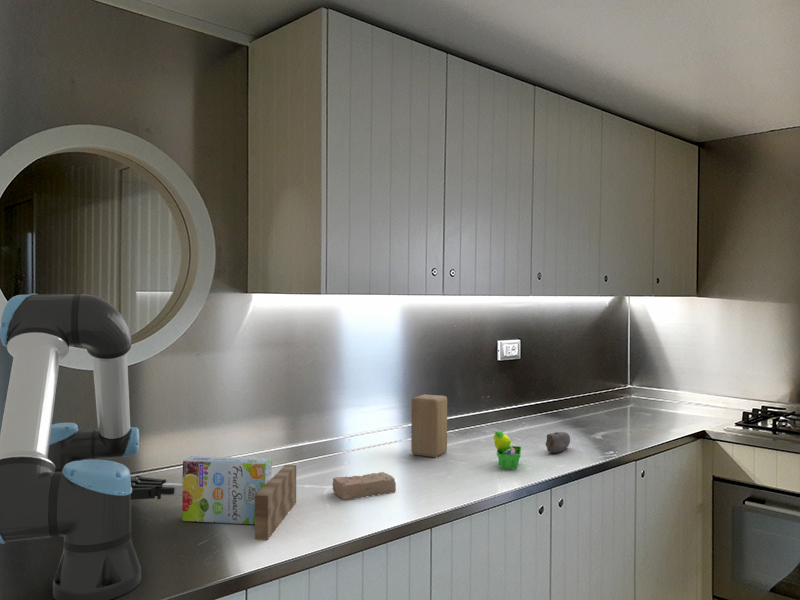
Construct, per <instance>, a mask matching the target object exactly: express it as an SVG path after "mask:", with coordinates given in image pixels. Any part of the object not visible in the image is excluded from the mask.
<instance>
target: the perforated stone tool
mask: <svg viewBox="0 0 800 600" xmlns="http://www.w3.org/2000/svg"><path fill="white" fill-rule="evenodd" d="M570 443H571V436H570V434H569V433H568V432H565V431H556V432H551V433H548V434H546V441H545V447H546V450H547V452H548V453H551V454H552V453H553V454H557V453H561V452H563V451H565V450H566V449H567V448H568V447H569V446H570Z"/></svg>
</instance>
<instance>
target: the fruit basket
mask: <svg viewBox="0 0 800 600" xmlns="http://www.w3.org/2000/svg"><path fill="white" fill-rule="evenodd" d="M493 438H494V439H493V440H494V447H495V448H496V456H497V459H498V463H499V467H500V469H501V468H505V470H518V466H519V461H520V458H521V456H522V447H521V446H518V445H515V446H514V445H511V443H512V440H511V438H510V437H509V436H508V435H507V434H505V433H504V432H503V431H502V430H495V432H494V435H493Z"/></svg>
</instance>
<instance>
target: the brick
mask: <svg viewBox="0 0 800 600" xmlns="http://www.w3.org/2000/svg"><path fill="white" fill-rule="evenodd" d="M332 481H333V482H332V491H333V493H334V494H335V495H336V496H338V497H339V498H341V499H342V500H344V501H345V500H348V501H349V500H355V498H359V499H362V498H361V497H364V498H367V497H366V496H370V497H373V496H372V495H375V496H379V495H378V494H381V495H385V494H384V493H387V494H391V493H390V492H392V493H396V492H395V491H397V483H396V481H395V478H394V476H393V475H391V474H388V473H386V472H384V471H382V472H374V473H373V472H372V473H368V474H363V475H352V476H337V477H333V478H332Z"/></svg>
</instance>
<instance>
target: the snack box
mask: <svg viewBox="0 0 800 600" xmlns="http://www.w3.org/2000/svg"><path fill="white" fill-rule="evenodd" d="M272 461H273V460H272V458H262V457H261V458H259V457H233V456H232V457H231V456H205V455H204V456H203V455H202V456H201V455H199V456H197V455H191V456H189V457H188V458H186V459H184V460H183V461H182V483H183V492H182V496H181V498H182V507H181V508H182V509H181V510H182V515H181V516H182V517H181V519H182V522H195V521H196V522H197V523H198V522H199V523H200V522H201V523H214V522H215V523H219V524H238V525H253V526H255V495H256V494H257V493H258V492H259V491H260V490H261V489H262V488H263V487H264V486H265V485H266V484H267V483H268V482H269V481H270V480H271V479H272V470H273V469H272V468H273V467H272V465H273V462H272Z"/></svg>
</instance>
